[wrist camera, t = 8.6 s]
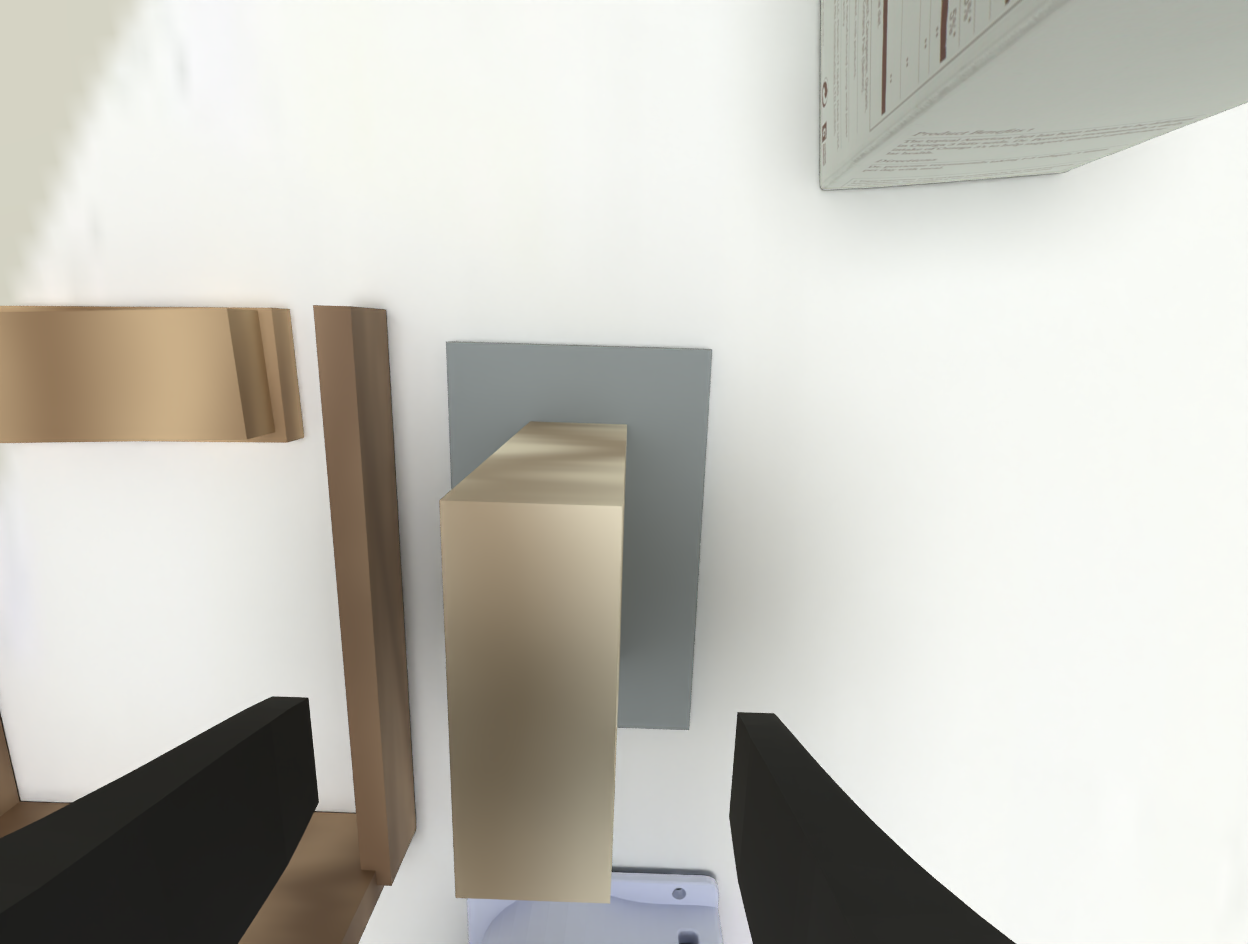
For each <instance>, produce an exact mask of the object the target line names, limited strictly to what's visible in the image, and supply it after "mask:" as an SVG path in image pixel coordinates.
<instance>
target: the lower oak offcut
mask: <svg viewBox="0 0 1248 944" xmlns="http://www.w3.org/2000/svg"><path fill="white" fill-rule="evenodd" d="M159 309H220V308H215V307H83V306H0V312H37V311H98V310H159ZM228 309H242V310H256V311H258V316H259V323H260V330H261V337H262V344H263V351H264V357H265V364H266V371H267V378H268V385H269V392H270V399H271V406H272V413H273V420H274V427H275V432H274V433H270V434H266V435H262V436H259V437H255V438H251V439H247V440H184V441H182V442H286V443H287V442H290V441H294V440H297V439H300V438H303V437H304V432H303V423H302V414H301V405H300V396H299V388H298V379H297V370H296V361H295V352H294V344H293V335H292V326H291V317H290V309H279V308H228Z"/></svg>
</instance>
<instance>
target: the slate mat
mask: <svg viewBox="0 0 1248 944" xmlns="http://www.w3.org/2000/svg"><path fill="white" fill-rule="evenodd" d="M446 354H447V381H448V408H449V435H450V462H451V489H453V488H454V487H455V486H456V485H458V484H459V483H460V482H461V481H462V480H463V479H465V478H466V477H467V476H468V475H469V474H470V473H471V472H473V471H474V470H475V469H476V468H477V467H478V466H479V465H481V464H482V463H483V462H484V461H485V460H486V459H488V458H489V457H490V456H491V455H492V454H493V453H494V452H496V451H497V450H498V449H499V448H500V447H501V446H502V445H504V444H505V443H506V442H507V441H508V440H509V439H511V438H512V437H513V436H514V435H515V434H516V433H517V432H519V431H520V430H521V429H522V428H523V427H524V426H525V425H527V424H528V423H529V422H530V421H533V422H564V423H596V424H627V443H626V475H625V507H624V539H623V571H622V603H621V635H620V665H619V691H618V717H617V728H645V729H674V730H689V723H690V707H691V690H692V674H693V657H694V641H695V624H696V608H697V591H698V575H699V558H700V542H701V525H702V509H703V492H704V476H705V459H706V443H707V426H708V410H709V393H710V377H711V360H712V350H711V349H684V348H651V347H617V346H583V345H550V344H516V343H482V342H446Z"/></svg>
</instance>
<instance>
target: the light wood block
mask: <svg viewBox="0 0 1248 944" xmlns="http://www.w3.org/2000/svg"><path fill="white" fill-rule="evenodd" d="M626 443H627V424H596V423H564V422H533V421H530V422H529V423H528V424H527V425H525V426H524V427H523V428H522V429H521V430H520V431H519V432H517V433H516V434H515V435H514V436H513V437H512V438H511V439H509V440H508V441H507V442H506V443H505V444H504V445H502V446H501V447H500V448H499V449H498V450H497V451H496V452H494V453H493V454H492V455H491V456H490V457H489V458H488V459H486V460H485V461H484V462H483V463H482V464H481V465H479V466H478V467H477V468H476V469H475V470H474V471H473V472H471V473H470V474H469V475H468V476H467V477H466V478H465V479H463V480H462V481H461V482H460V483H459V484H458V485H456V486H455V487H454V488H453V489H452V490H451V491H450V492H448V493H447V494H446V495H445V496H444V497H443V498H442V499H440V500H439V504H440V529H441V553H442V578H443V602H444V627H445V651H446V676H447V700H448V725H449V749H450V774H451V798H452V823H453V847H454V872H455V896H456V898H472V899H499V900H526V901H554V902H581V903H608V904H610V896H611V871H612V845H613V819H614V794H615V768H616V742H617V717H618V691H619V665H620V635H621V603H622V571H623V539H624V507H625V475H626Z"/></svg>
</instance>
